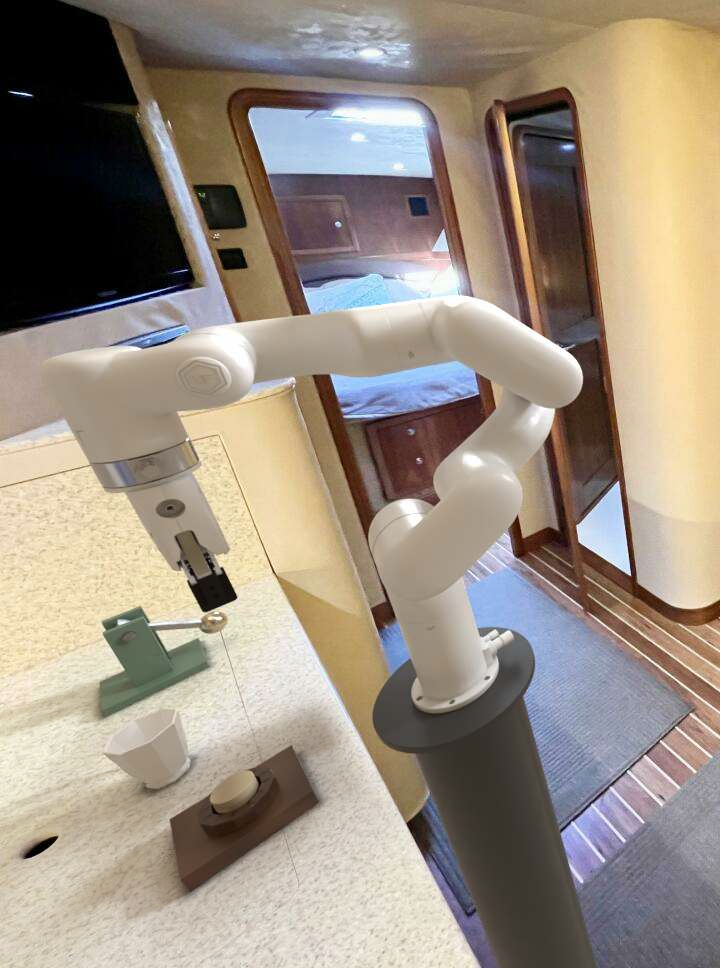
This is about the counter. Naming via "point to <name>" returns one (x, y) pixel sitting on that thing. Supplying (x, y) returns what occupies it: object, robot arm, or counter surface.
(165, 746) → the cup
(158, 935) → the counter surface
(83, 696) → the counter surface
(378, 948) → the counter surface
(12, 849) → the counter surface
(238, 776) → the button
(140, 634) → the bracket
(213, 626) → the lever
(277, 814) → the button box
